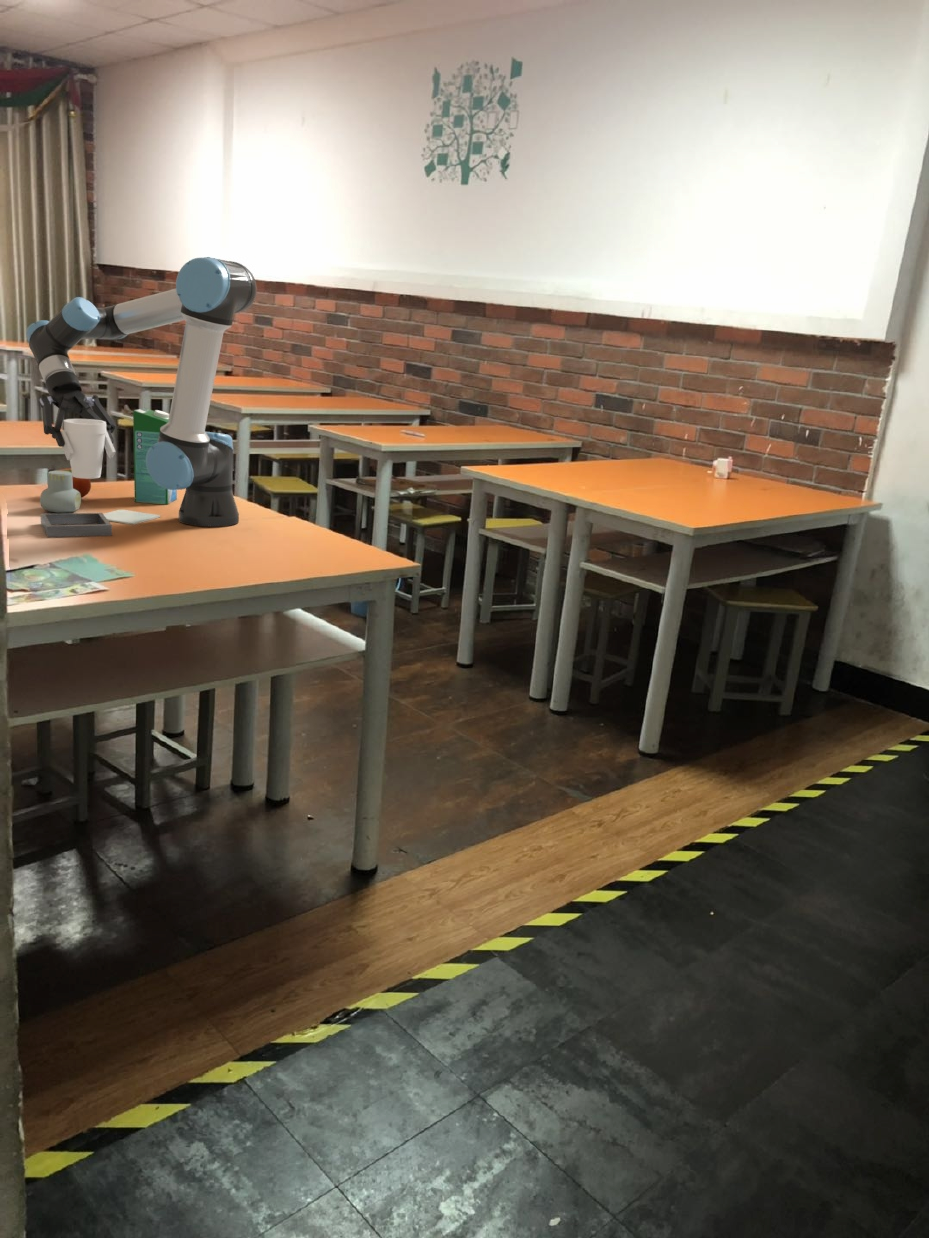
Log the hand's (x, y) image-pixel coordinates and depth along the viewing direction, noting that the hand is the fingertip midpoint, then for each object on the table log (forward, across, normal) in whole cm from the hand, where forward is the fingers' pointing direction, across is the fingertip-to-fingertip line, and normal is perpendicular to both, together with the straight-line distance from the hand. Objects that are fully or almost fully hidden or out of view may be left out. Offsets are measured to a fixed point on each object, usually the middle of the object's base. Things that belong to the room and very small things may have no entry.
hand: (91, 456), depth 226 cm
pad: (+7, -12, -18) cm, 23 cm away
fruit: (-12, -10, -38) cm, 40 cm away
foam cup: (+2, 0, -6) cm, 6 cm away
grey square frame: (+12, +4, -12) cm, 18 cm away
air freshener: (-2, -1, -28) cm, 28 cm away
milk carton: (-5, -30, -31) cm, 43 cm away
